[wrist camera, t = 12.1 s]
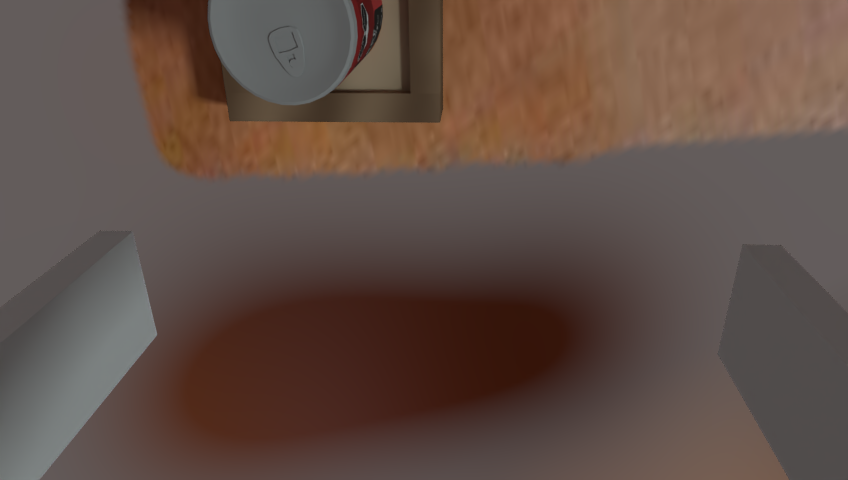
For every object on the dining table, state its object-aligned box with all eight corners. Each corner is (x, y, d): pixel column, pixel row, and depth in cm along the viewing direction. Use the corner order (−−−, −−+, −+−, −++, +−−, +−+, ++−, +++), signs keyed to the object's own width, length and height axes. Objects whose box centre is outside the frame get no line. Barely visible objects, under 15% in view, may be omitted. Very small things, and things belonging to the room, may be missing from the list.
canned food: (317, 89, 44) (270, 133, 34) (246, -15, 41) (172, -1, 32) (408, 29, 42) (386, 57, 32) (339, -85, 39) (292, -93, 29)
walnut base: (442, -122, 41) (439, -127, 37) (442, 109, 47) (439, 122, 44) (216, -116, 42) (193, -121, 38) (247, 108, 48) (229, 121, 45)
